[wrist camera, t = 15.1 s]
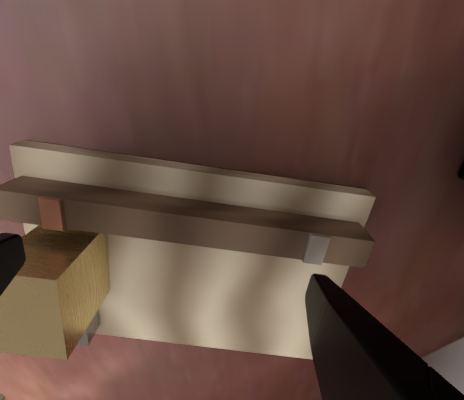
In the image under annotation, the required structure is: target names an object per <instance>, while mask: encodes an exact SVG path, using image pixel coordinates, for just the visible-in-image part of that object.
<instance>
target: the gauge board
mask: <svg viewBox="0 0 464 400" xmlns="http://www.w3.org/2000/svg"><path fill="white" fill-rule="evenodd" d="M9 148H10V154H11V159H12V165H13V170H14V176H15V179H13V180H11V181H8V182H6V183H4V184H1V185H0V220H5V221H13V222H20V223H23V225H24V230H25V235H26V234H27V233H29V232H30V231H31V230H33V229H34V228H35V227H37V226H38V225H42V228H44V229H51V230H59V231H63V230H65V229H73V230H80V231H88V232H95V233H103V234H108V246H109V270H110V291H109V293H108V294H107V296H106V298H105V299H104V301H103V303H102V304H101V306H100V307H99V315H100V326H99V328H98V329H97V331H96V333H95V334H102V335H111V336H119V337H128V338H136V339H144V340H153V341H161V342H170V343H178V344H187V345H195V346H203V347H212V348H220V349H229V350H237V351H246V352H254V353H263V354H271V355H279V356H288V357H296V358H305V359H313V357H312V353H311V347H310V340H309V331H308V323H307V314H306V306H305V294H306V290H307V287H308V284H309V280H310V277H311V275H312V274H314V273H316V274H323V275H326V276H328V277H329V278H330V279H331V280H332V281H334V282H335V283H336V284H337V285H338V286H339V287H340V288H341V287H342V284H343V282H344V279H345V276H346V274H347V271H348V269H349V266H352V267H359V268H365V266H366V264H367V261H368V259H369V256H370V254H371V251H372V249H373V247H374V244H375V241H374V239H373V238H372V237H371V236H370V235H369V234H368V233H367V231H366V230H365V229H364V227H365V224H366V222H367V219H368V216H369V214H370V211H371V209H372V206H373V203H374V201H375V198H376V197H375V196H374V195H373V194H371V193H370V192H369V191H368V190H367V189H361V188H354V187H347V186H341V185H334V184H327V183H320V182H313V181H306V180H299V179H292V178H285V177H278V176H271V175H264V174H257V173H250V172H243V171H236V170H230V169H223V168H216V167H209V166H202V165H195V164H188V163H181V162H174V161H167V160H160V159H153V158H146V157H139V156H132V155H125V154H119V153H112V152H105V151H98V150H91V149H84V148H77V147H70V146H63V145H56V144H49V143H42V142H35V141H28V140H24V141H21V142H17V143H13V144H10V145H9Z"/></svg>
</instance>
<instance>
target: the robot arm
mask: <svg viewBox="0 0 464 400" xmlns="http://www.w3.org/2000/svg"><path fill="white" fill-rule="evenodd" d="M459 177H460V178H461V179H463V180H464V164H463V166H462V168H461V170H460V172H459ZM25 260H26V254H25V250H24V245H23V240H22V237H21V236H20V235H18V234H12V233H1V234H0V296H1V295H2V293H3V292H4V291H5V289H6V288H7V287H8V285H9V284H10V283H11V281H12V280H13V279H14V277H15V276H16V275H17V273H18V272H19V271H20V269H21V268H22V267H23V265H24V263H25ZM305 306H306V314H307V323H308V331H309V340H310V347H311V353H312V357H313V362H314V366H315V370H316V375H317V379H318V383H319V388H320V392H321V396H322V400H464V395H463V394H462V393H461V392H459V391H458V390H457V389H456V388H455V387H454V386H452V385H451V384H450V383H449V382H448V381H447V380H445V379H444V378H443V377H442V376H441V375H440V374H439V373H438V372H436V371H435V370H434V369H433V368H432V367H430V366H429V367H428V364H427V363H426V362H424V360H423V359H421V358H420V357H419V356H418V355H417V354H416V353H415V352H413V351H412V350H411V349H410V348H409V347H408V346H407V345H405V344H404V343H403V342H402V341H401V340H400V339H399V338H397V337H396V336H395V335H394V334H393V333H392V332H391V331H389V330H388V329H387V328H386V327H385V326H384V325H383V324H381V323H380V322H379V321H378V320H377V319H376V318H375V317H373V316H372V315H371V314H370V313H369V312H368V311H367V310H365V309H364V308H363V307H362V306H361V305H360V304H359V303H357V302H356V301H355V300H354V299H353V298H352V297H351V296H349V295H348V294H347V293H346V292H345V291H344V290H343V289H342V288H340V287H339V286H338V285H337V284H336V283H335V282H334V281H332V280H331V279H330V278H329V277H328V276H326V275H323V274H316V273H314V274H312V275H311V277H310V280H309V284H308V287H307V290H306V294H305Z"/></svg>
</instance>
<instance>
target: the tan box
mask: <svg viewBox="0 0 464 400" xmlns="http://www.w3.org/2000/svg"><path fill="white" fill-rule="evenodd" d="M22 240H23V245H24V250H25V254H26V260H25V263H24V265H23V267H22V268H21V269H20V271H19V272H18V273H17V275H16V276H15V277H14V279H13V280H12V281H11V283H10V284H9V285H8V287H7V288H6V289H5V291H4V292H3V293H2V295H1V296H0V352H2V353H11V354H19V355H28V356H37V357H45V358H54V359H63V360H68V358H69V356H70V355H71V353H72V351H73V350H74V348H75V347H76V345H77V344H80V345H89V343H90V342H91V340H92V338H93V336H94V335H95V333H96V331H97V329H98V328H99V326H100V315H99V307H100V306H101V304H102V303H103V301H104V299H105V298H106V296H107V294H108V293H109V291H110V270H109V246H108V234H103V233H95V232H88V231H80V230H73V229H65V230H63V231H59V230H51V229H44V228H42V225H38V226H37V227H35V228H34V229H33V230H31V231H30V232H29V233H27V234H26V235H24V236H23V237H22Z"/></svg>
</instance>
